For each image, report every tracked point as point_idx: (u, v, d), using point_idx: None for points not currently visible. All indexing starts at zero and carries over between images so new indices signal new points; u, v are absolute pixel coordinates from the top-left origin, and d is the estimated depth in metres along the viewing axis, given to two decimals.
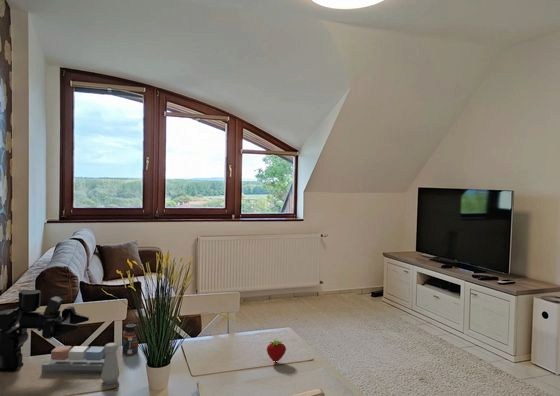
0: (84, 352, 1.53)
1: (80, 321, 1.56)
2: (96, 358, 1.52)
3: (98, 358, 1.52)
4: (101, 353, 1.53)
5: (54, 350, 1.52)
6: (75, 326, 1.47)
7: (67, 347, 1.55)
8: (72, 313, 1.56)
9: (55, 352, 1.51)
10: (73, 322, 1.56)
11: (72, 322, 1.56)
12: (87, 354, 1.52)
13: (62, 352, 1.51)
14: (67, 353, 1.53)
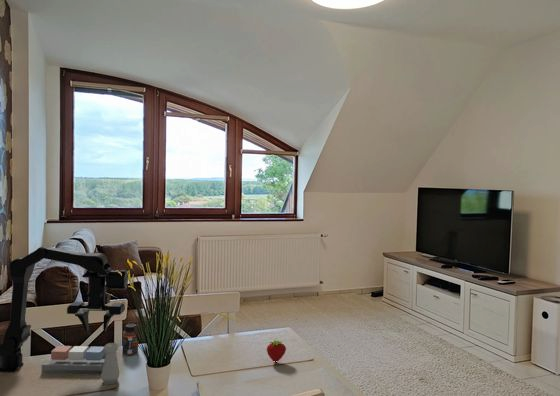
0: (84, 352, 1.53)
1: (86, 324, 1.53)
2: (96, 358, 1.52)
3: (98, 358, 1.52)
4: (101, 353, 1.53)
5: (54, 350, 1.52)
6: None
7: (67, 347, 1.55)
8: (88, 313, 1.55)
9: (55, 352, 1.51)
10: (84, 317, 1.52)
11: (84, 316, 1.52)
12: (87, 354, 1.52)
13: (62, 352, 1.51)
14: (67, 353, 1.53)
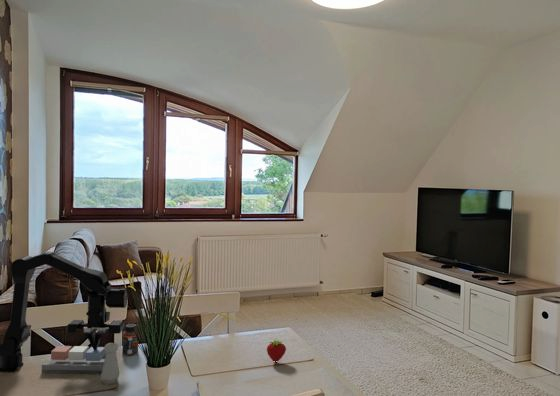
0: (84, 352, 1.53)
1: (94, 343, 1.53)
2: (96, 358, 1.52)
3: (98, 358, 1.52)
4: (101, 353, 1.53)
5: (54, 350, 1.52)
6: (97, 347, 1.55)
7: (67, 347, 1.55)
8: (95, 331, 1.56)
9: (55, 352, 1.51)
10: (92, 336, 1.52)
11: (92, 335, 1.52)
12: (87, 355, 1.52)
13: (62, 352, 1.51)
14: (67, 353, 1.53)
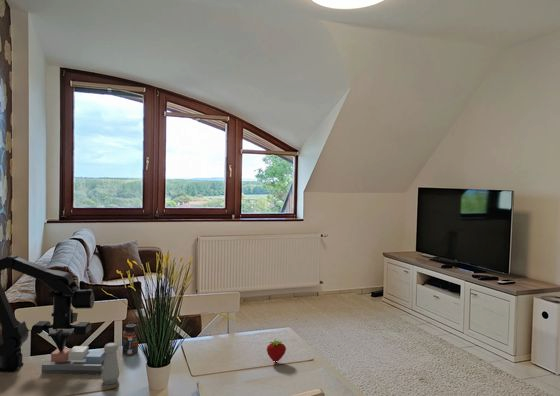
0: (84, 352, 1.53)
1: (59, 344, 1.52)
2: (96, 362, 1.52)
3: (98, 362, 1.52)
4: (101, 357, 1.53)
5: (54, 352, 1.52)
6: (63, 348, 1.54)
7: (67, 349, 1.55)
8: (61, 332, 1.55)
9: (55, 354, 1.51)
10: (58, 337, 1.52)
11: (57, 336, 1.52)
12: (87, 359, 1.52)
13: (62, 355, 1.51)
14: (67, 355, 1.53)
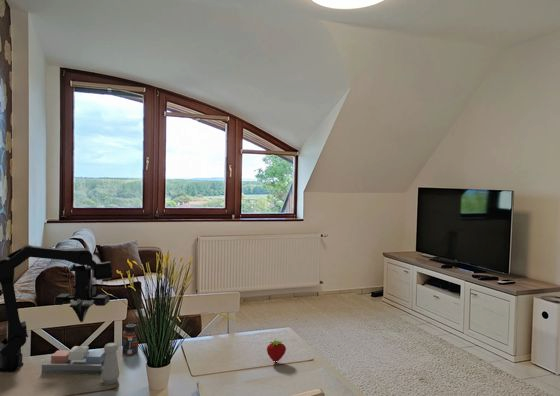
0: (84, 352, 1.53)
1: (80, 315, 1.62)
2: (96, 362, 1.52)
3: (98, 362, 1.52)
4: (101, 357, 1.53)
5: (54, 355, 1.52)
6: (83, 319, 1.64)
7: (67, 351, 1.55)
8: (82, 304, 1.65)
9: (55, 356, 1.51)
10: (78, 308, 1.62)
11: (78, 307, 1.61)
12: (87, 359, 1.52)
13: (62, 357, 1.51)
14: (67, 357, 1.53)
